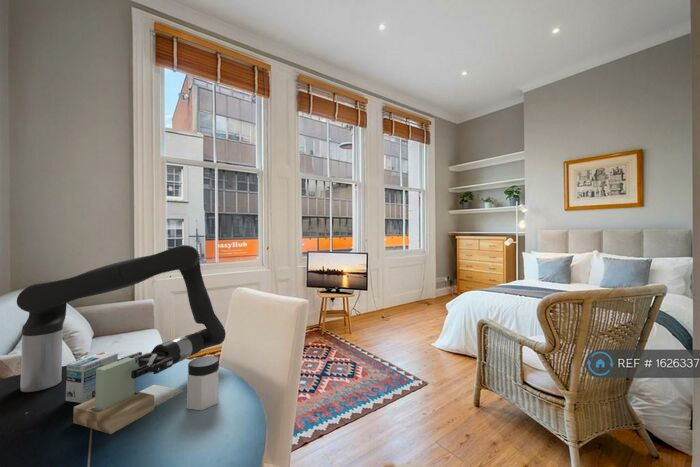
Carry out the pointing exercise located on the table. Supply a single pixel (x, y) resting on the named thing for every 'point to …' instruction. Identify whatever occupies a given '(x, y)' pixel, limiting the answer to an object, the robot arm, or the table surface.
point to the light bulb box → (85, 376)
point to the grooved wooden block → (113, 413)
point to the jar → (203, 382)
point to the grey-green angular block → (114, 383)
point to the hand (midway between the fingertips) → (121, 372)
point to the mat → (161, 393)
